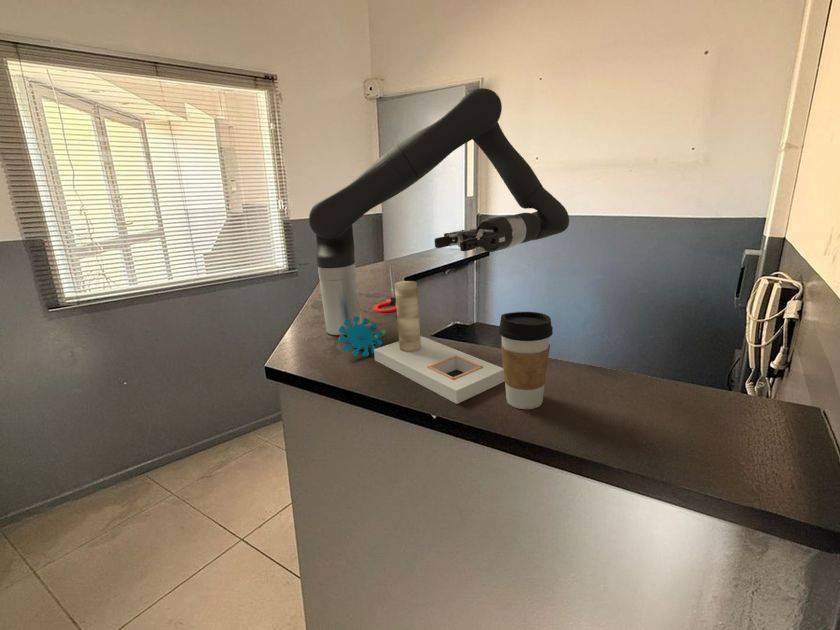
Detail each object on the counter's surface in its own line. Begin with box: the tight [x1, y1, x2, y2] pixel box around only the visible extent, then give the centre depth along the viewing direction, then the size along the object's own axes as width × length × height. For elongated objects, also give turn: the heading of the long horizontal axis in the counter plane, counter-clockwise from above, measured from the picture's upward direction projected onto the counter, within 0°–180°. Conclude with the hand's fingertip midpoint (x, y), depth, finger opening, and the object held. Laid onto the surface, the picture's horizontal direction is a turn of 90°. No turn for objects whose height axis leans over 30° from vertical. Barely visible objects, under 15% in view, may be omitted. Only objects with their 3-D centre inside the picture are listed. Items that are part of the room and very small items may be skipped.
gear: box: [338, 317, 386, 358], centre depth 99 cm, size 11×6×10 cm
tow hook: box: [372, 263, 397, 314], centre depth 128 cm, size 8×13×9 cm
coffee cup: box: [498, 311, 554, 410], centre depth 71 cm, size 8×8×15 cm
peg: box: [395, 280, 421, 352], centre depth 90 cm, size 4×4×14 cm
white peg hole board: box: [373, 335, 505, 405], centre depth 87 cm, size 26×12×3 cm, turn 38°
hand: (448, 244), depth 93 cm, fingers open, 8 cm apart
